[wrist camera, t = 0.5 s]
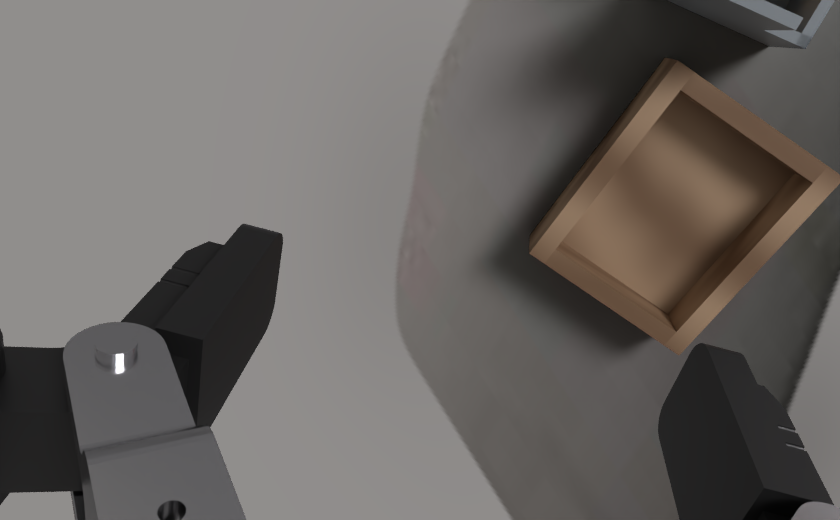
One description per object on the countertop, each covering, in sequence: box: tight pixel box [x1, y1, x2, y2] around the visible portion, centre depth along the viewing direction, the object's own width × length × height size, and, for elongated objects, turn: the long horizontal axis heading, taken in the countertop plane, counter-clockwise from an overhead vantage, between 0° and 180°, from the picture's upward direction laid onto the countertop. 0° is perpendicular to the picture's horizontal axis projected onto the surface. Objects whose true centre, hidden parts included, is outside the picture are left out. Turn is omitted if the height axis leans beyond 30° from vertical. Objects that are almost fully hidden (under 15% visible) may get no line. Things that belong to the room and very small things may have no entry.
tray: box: [529, 58, 840, 355], centre depth 37 cm, size 12×10×4 cm
